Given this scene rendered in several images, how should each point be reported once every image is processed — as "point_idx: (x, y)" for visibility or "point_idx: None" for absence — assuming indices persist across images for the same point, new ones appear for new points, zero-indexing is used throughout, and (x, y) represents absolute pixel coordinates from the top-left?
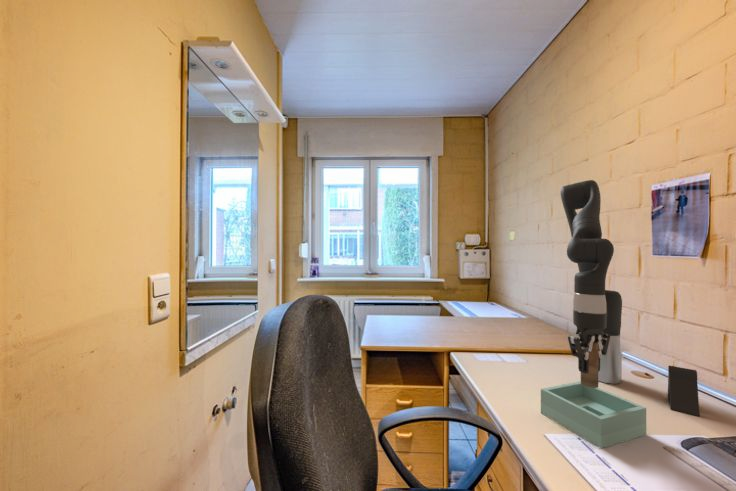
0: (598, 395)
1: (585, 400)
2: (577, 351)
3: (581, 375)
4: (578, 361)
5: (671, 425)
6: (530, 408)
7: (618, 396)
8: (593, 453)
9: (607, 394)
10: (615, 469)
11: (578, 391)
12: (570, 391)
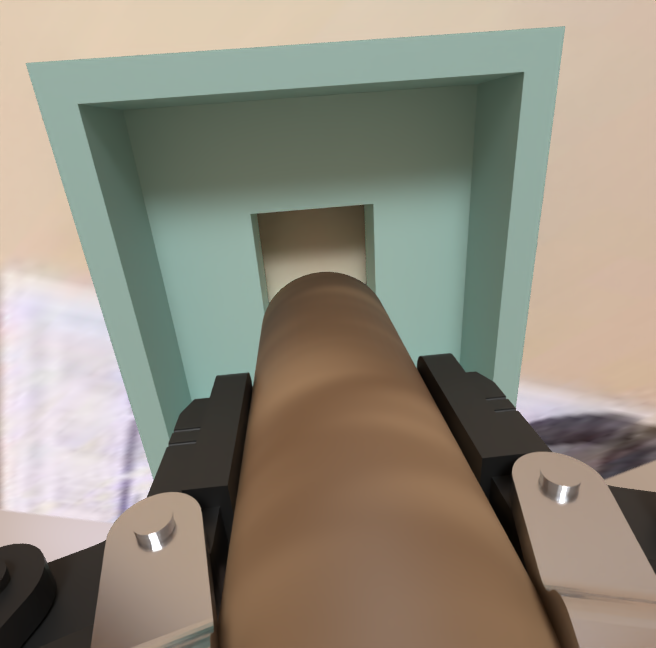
0: (492, 206)
1: (431, 143)
2: (95, 619)
3: (261, 344)
4: (155, 477)
5: (642, 346)
6: (76, 10)
7: (525, 322)
8: (131, 413)
9: (501, 273)
10: (139, 479)
11: (446, 83)
12: (359, 88)
